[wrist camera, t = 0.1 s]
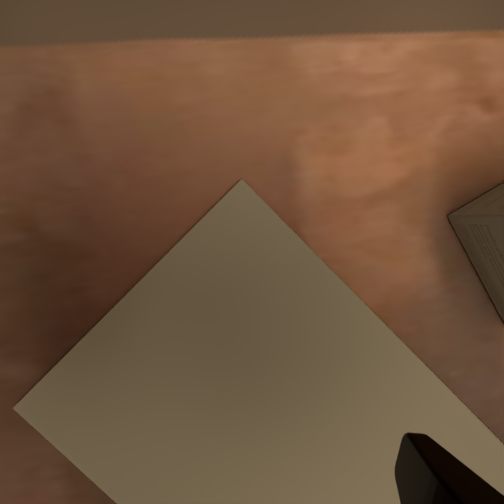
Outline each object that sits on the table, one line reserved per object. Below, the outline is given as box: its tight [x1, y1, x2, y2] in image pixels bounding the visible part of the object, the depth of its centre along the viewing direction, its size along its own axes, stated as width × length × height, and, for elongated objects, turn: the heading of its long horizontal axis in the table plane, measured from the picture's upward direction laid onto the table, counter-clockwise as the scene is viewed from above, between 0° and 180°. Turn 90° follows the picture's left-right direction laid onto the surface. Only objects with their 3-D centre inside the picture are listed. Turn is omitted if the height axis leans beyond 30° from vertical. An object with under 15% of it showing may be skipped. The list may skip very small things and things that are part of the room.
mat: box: [13, 179, 504, 504], centre depth 24 cm, size 17×24×1 cm
